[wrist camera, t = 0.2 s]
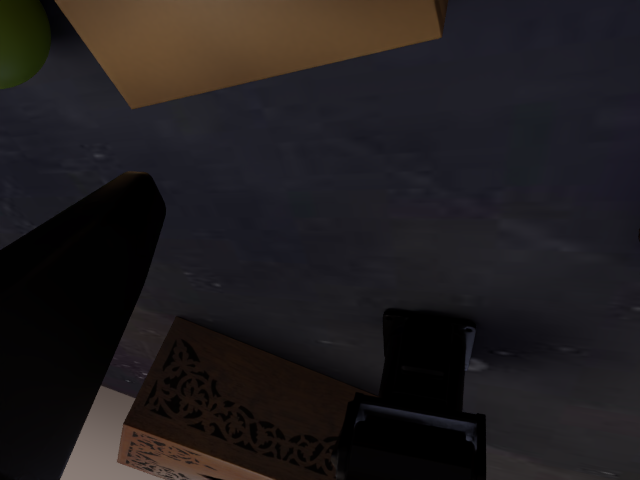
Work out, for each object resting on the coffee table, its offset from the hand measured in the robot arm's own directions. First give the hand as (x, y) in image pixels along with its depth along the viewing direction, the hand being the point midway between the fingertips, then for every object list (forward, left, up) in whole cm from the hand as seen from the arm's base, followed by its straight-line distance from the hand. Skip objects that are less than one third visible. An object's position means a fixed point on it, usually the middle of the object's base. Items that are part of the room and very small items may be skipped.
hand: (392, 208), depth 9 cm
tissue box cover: (-43, +14, -15) cm, 48 cm away
